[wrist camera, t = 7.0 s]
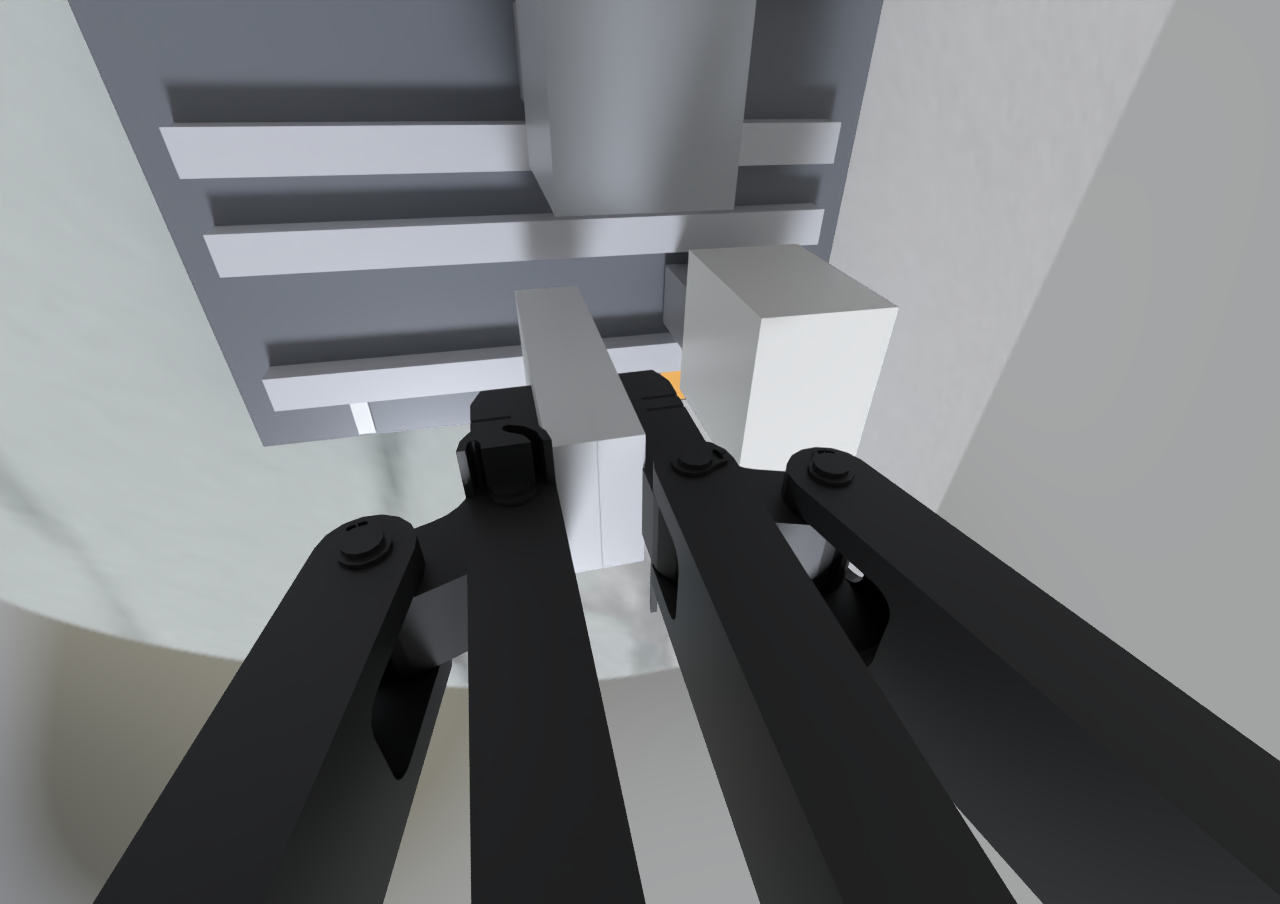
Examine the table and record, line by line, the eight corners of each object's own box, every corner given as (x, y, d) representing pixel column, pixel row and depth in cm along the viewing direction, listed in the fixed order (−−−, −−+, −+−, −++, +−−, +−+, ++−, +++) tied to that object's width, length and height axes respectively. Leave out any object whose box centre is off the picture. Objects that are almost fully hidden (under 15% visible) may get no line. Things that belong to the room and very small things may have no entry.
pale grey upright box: (501, -63, 12) (532, -142, 7) (640, -55, 13) (768, -121, 7) (520, 149, 14) (555, 217, 9) (637, 147, 15) (733, 209, 10)
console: (27, -214, 11) (-82, -277, 9) (867, -133, 15) (938, -164, 13) (280, 412, 19) (256, 461, 17) (779, 362, 23) (813, 397, 21)
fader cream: (663, 226, 16) (761, 318, 11) (761, 221, 17) (899, 307, 12) (658, 354, 19) (737, 482, 13) (744, 346, 19) (852, 465, 14)
